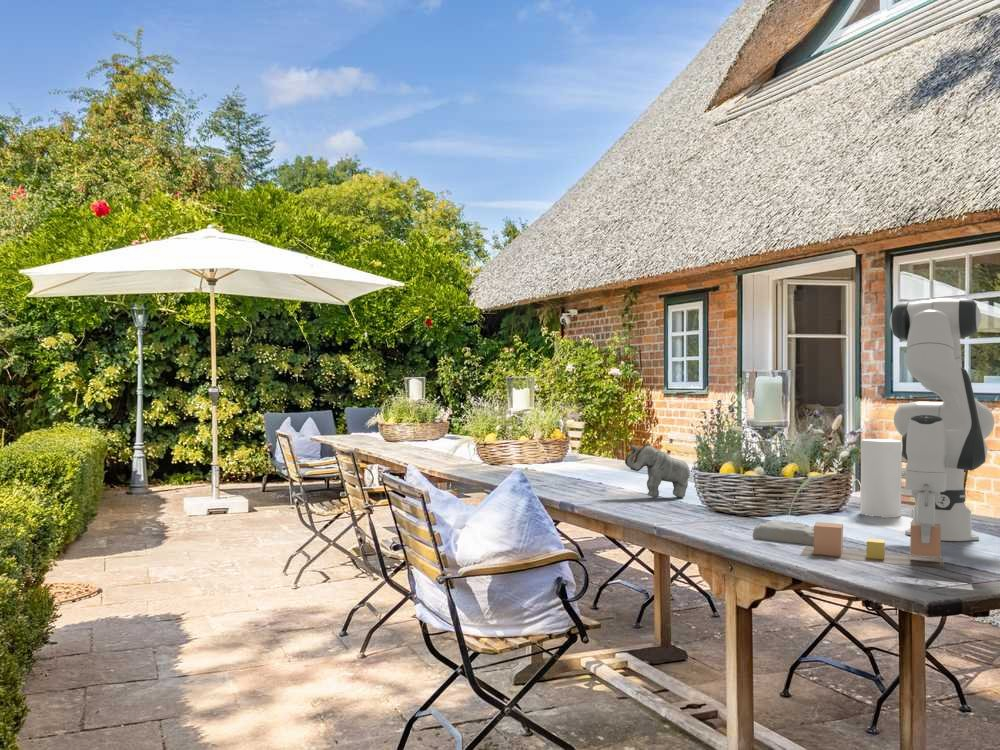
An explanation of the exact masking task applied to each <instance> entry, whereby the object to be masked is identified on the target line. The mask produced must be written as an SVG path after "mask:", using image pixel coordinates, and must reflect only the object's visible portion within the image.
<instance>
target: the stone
mask: <svg viewBox="0 0 1000 750" xmlns="http://www.w3.org/2000/svg"><path fill="white" fill-rule="evenodd" d="M752 538H753V539H759V540H767V541H768V540H769V541H775V542H776V541H777V542H783V543H784V542H785V543H794V544H801V545H802V544H804V545H809V546H810V545H811V546H814V526H810V525H808V524H806V523H805V524H803V523H801V522H794V521H784V520H780V519H772V520H768V521H766V522H764V523H763V522H762V523H758V524H757V525H756V526H755V527H754V529H753V532H752Z"/></svg>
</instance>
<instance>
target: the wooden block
mask: <svg viewBox="0 0 1000 750" xmlns="http://www.w3.org/2000/svg"><path fill="white" fill-rule="evenodd" d="M910 528H911V535H910V538H909V539H910V545H909V546H910V547H909V548H910V550H909V552H910V553H909V555H912V556H923V557H934V558H941V544H942V543H941V541H942V540H941V527H940V524H935V525H934V527H931V531H930V542H929V543H923V542H922V541H921V526H919V525H918V522H912V521H910Z"/></svg>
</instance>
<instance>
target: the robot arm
mask: <svg viewBox="0 0 1000 750" xmlns="http://www.w3.org/2000/svg"><path fill="white" fill-rule="evenodd" d="M981 321H982V314H981V309H980V308H979V306H978V303H977V302H976V301H975V300H973V299H970V298H961V297H960V298H959V299H957V298H934V299H929V300H927V299H925V300H918V301H914V302H913V301H912V302H909V301H905V302H902V303H901V302H900V303H898V304H896V305H895V306H894V307H893V309H892V312H891V314H890V317H889V327H890V329H891V331H892V334H893V336H894V337H895V338H897V339H899V340H903V341H906V366H907V370H908V372H909V373H910V376H912V377H913V378H914V379H915V380H917V381H918V382H920V385H921V386H922V387H923V388H924V389H926V390H928V391H930V392H932V393H934V394H936V395H937V396H938V397H940V399H941V400H942V401H912V402H906V403H901V405H899V406H898V407H897V408H896V410H895V412H894V415H893V424H894V427H895V429H896V431H897V432H898V434H900V436H901V441H902V458H904V460H906V462H907V463H906V467H905V489H906V490H908V491H910V493H911V494H910V495H911V497H914V502H915V503H914V504H915V505H914V506H912V508H913V509H912V510H911V518H912V520H911V522H918V525H919V526H921V541H922V542H923V543H929V542H930V531H931V527H934V525H935V524H940V527H941V541H944V542H945V541H946V542H966V541H967V542H968V541H979V540H980V538H979V535H977V534H975V533H973V532H972V530H973V529H972V510H971V509H970V508H969V507H968V506H967V505H966V503H965V502H966V498H967V497H966V495H967V494H966V489H965V488H964V487H965V485H964V483H965V481H964V480H965V477H964V476H965V474H964V473H965V471H974V470H976V469H978V468H980V467H981V466H983V464H985V463H986V459H987V457H988V446H987V442H986V440H985V439H986V438H988V437H989V436H990V435H991V433H992V432H993V430H994V427H995V419H994V418H995V417H994V415H993V413H992V411H991V410H990V409H989V407H988V406H986V405H985V404H983V403H982V402H980V401H979V400H978V399H977V398H975V393H974V390H973V387H972V386H973V385H972V382H971V378H970V375H969V372H968V371H967V369H965V368H963V361H962V360H963V359H962V346H961V339H962V340H963V339H966V338H968V337H972V336H974V334H976V333H977V332H978V330H979V328H980V325H981V323H982V322H981ZM960 338H961V339H960ZM904 534H905V535H909V536H911V527H908V528H907V529H906V530H905V532H904Z"/></svg>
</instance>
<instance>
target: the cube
mask: <svg viewBox="0 0 1000 750" xmlns="http://www.w3.org/2000/svg"><path fill="white" fill-rule="evenodd" d="M885 545H886V541H885V539H874V538H867V539H866V551H867V554H866V558H875V559H884V557H885V553H886V552H885V551H886V547H885Z"/></svg>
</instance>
